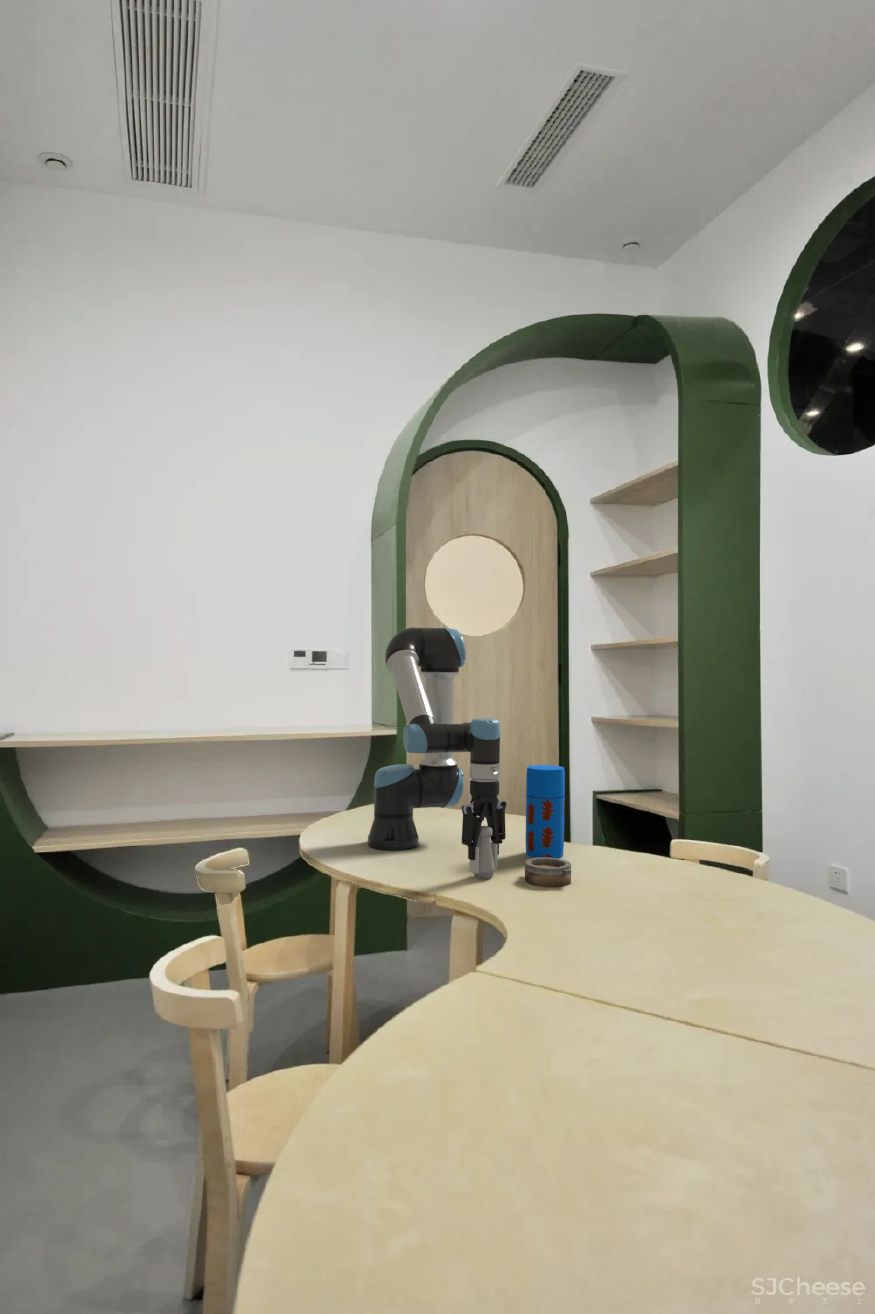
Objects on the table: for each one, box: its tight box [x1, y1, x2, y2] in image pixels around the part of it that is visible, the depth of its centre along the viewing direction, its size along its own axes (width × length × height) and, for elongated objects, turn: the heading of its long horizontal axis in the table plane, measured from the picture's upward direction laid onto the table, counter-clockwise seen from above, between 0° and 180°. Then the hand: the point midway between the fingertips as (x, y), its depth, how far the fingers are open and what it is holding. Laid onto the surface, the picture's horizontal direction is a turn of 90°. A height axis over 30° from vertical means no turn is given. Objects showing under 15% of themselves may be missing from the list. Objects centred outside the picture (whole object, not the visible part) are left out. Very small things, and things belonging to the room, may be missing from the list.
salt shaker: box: [473, 825, 496, 881], centre depth 210 cm, size 6×6×13 cm
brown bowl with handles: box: [524, 857, 572, 888], centre depth 208 cm, size 14×12×4 cm
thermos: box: [525, 764, 566, 859], centre depth 234 cm, size 11×11×25 cm
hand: (483, 870), depth 210 cm, fingers closed on salt shaker, 6 cm apart
